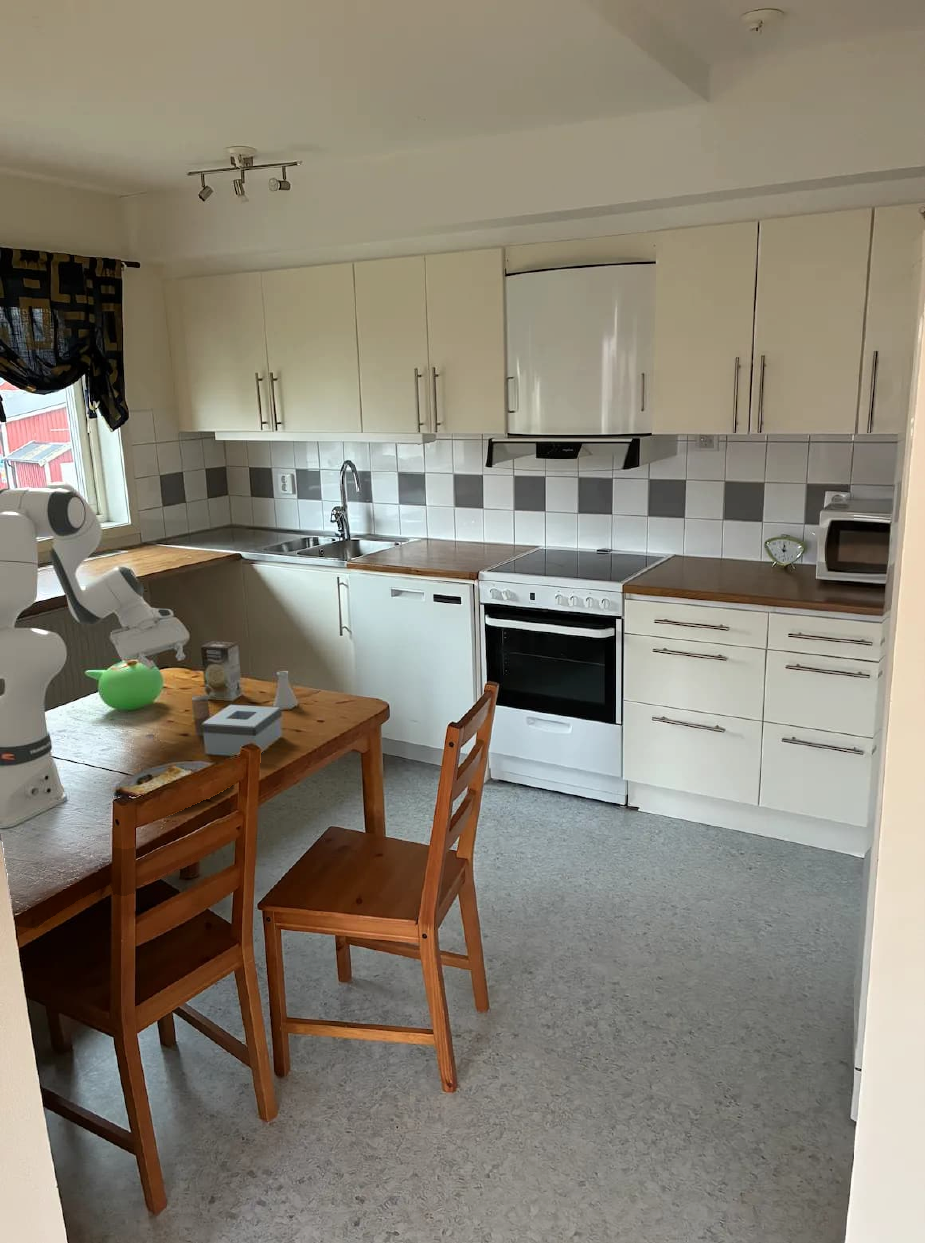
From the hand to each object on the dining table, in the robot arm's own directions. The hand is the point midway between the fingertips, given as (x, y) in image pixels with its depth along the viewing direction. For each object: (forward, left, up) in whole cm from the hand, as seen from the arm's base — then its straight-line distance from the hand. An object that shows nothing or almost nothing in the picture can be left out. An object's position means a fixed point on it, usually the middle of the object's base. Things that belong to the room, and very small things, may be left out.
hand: (167, 663), depth 250 cm
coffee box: (+24, -2, -17) cm, 30 cm away
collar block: (-11, -27, -17) cm, 33 cm away
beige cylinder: (-5, -12, -17) cm, 21 cm away
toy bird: (+11, +20, -17) cm, 29 cm away
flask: (+19, -24, -17) cm, 35 cm away
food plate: (-39, -24, -18) cm, 49 cm away
